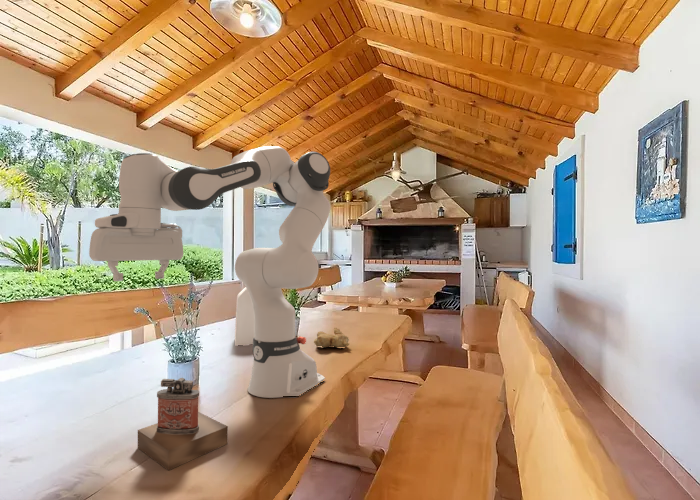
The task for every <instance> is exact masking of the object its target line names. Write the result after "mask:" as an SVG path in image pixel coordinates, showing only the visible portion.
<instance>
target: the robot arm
mask: <svg viewBox="0 0 700 500" xmlns="http://www.w3.org/2000/svg"><path fill="white" fill-rule="evenodd" d="M330 175H331V166H330V163H329V161H328V160H327V158H326V157H325V156H324V155H323V154H321V153H320V152H317V151H309V152H307V153H305V154H302V155H301V156H300V157H299V158H298V160H297V161H294V160H292V159H291V156H290V154H289V152H288V151H287V150H286V149H285V148H283V147H281V146H276V145H273V146H261V147H257V148H256V147H255V148H252V149H248V150H245V151H243V152H241V153H238V154H236V155H235V156H233V158H232V159H231V162H230V164H227V165H223V166H219V167H216V168H215V167H214V168H205V167H202V166H201V167H200V166H188V167H183V168H181V169H180V170H176V169H174V168H172V167H171V166H169V165H168V164H166V163H165V162H164V161H162V159H160V157H159V155H157V154H155V153H147V152H141V153H140V152H139V153H133V154H129V155H126V156H125V157H124V158H123V159H122V161H121V164H120V169H119V176H118V177H119V179H118V180H119V181H118V190H119V194H120V202H119V205H118V213H116V214H110V215H107V216H103V217H98V218H96V219H95V220H94V227H95V228H96V229H95V230H94V231H93V232H92V234H91V236H90V241H89V249H88V251H89V252H88V254H89V258H90V259H91V260H92V261H93V262H107V267H108V268H109V270H110V271H111V274H112V280H113V282H123V281H124V273H123V272H119V269H118V268H117V267H118V266H119V262H121V261H122V262H125V261H127V262H129V261H133V262H134V261H135V262H136V261H159V265H160V267H159V269H158V270H157V271H156V270H155V271H154V279H155V280H163V279H164V278H165V272H166V271H167V268H168V267H169V266H170V261H179V260H182V258H183V257H184V247H183V240H182V239H183V230H182V228H181V227H180V226H179V225H178V224H177V223H167V222H162V217H161V216H162V211H161V210H162V209H166V210H169V211H172V212H173V211H174V212H179V211H187V210H190V211H191V210H194V211H198V210H203V209H206V208H208V207H209V206H210V205H212V204H213V202H214V201H216V199H218V197H220V196H221V195H222V194H224V193H228V192H230V191H233V190H235V189H236V190H237V189H238V188H242V189H244V190H249V189H250V190H251V189H256V188H260V187H261V188H262V187H264V186H266V185H269V184H272V187H273V189H274V191H275V192H276V194H277V197H278V198H279V199H280V201H282V203H284V204H285V205H287V206H290V207H293V209H291V211H290V212H289V213H288V215H287V217H285V219H284V221H283V222H282V223H281V224H280V226H279V229H278V235H279V236H278V237H279V239H280V242H281V245H279V246H277V247H254V248H251V249H247V250H244V251H242V252H240V253H239V254H238V256H237V258H236V259H235V264H234V271H235V275H236V278H238V280H239V281H240V282H241V283H242V284H243V285H244V286H245V287H246V288H247V290H248V292H249V295H250V297H251V300H252V304H253V308H254V321H255V337H254V338H253V345H252V355H253V356H252V357H253V361H252V362H253V363H252V370H251V374H250V375H251V376H250V380H249V385H248V388H247V391H248V393H249V394H251V395H252V396H256V397H258V398H265V399H266V398H269V399H272V398H273V399H275V398H277V399H278V398H284V397H283V396H299V395H300V394H302V393H304V392H306V391H307V390H309V389H311V388H312V387H314V386H315V385H317V384H318V383H320V382H321V381H323V380H324V379H325V380H326V377H325V376H324V375H322V374H320V373H319V372H318V369H317V362H316V361H315V359H314V358H313V357H312V356H310V355H309V354H307V353H306V352H305V351H303V350H302V349H301V348H300V344H301V345H305V344H306V343H307V337H305V336H301V335H300V336H298V337H297V336H296V309H295V307H294V306H293V305H292V304H291V303H290V302H289V301H288V300H287V299H286V297H285V296H284V294H283V293H284V292H283V290H282V289H286V290H287V289H288V290H296V289H297V290H298V289H303V288H309V287H311V286H312V285H313V284H314V283H315V282H316V279H317V278H318V275H319V269H320V268H319V267H320V266H319V263H318V260H317V258H316V256H315V254H314V253H313V248H314V245H315V243H316V242H317V239H318V238H319V236H320V234H321V232H322V231H323V229H324V228H325V225H326V224H327V223H326V222H327V221H328V218H329V216H330V213H331V203H330V201H329V199H328V198H327V197H326V196H325V194H324V191H326V190H328V188H329V186H330V185H329V183H330V182H329V180H330ZM245 287H244V288H245ZM317 386H318V385H317ZM314 388H315V387H314ZM312 389H313V388H312ZM312 389H311V390H312ZM309 391H310V390H309ZM307 392H308V391H307ZM307 392H306V393H307ZM304 394H305V393H304ZM302 395H303V394H302ZM300 396H301V395H300ZM300 396H299V397H300Z"/></svg>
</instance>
